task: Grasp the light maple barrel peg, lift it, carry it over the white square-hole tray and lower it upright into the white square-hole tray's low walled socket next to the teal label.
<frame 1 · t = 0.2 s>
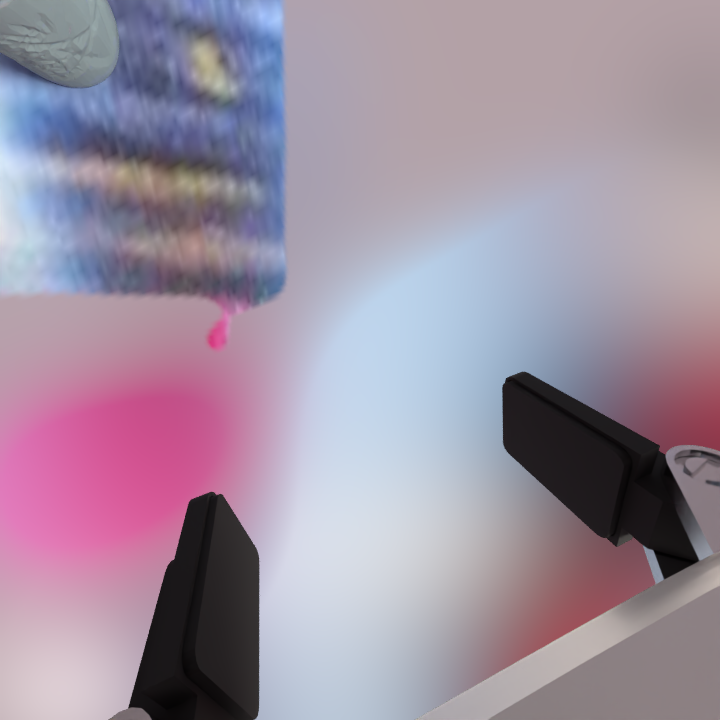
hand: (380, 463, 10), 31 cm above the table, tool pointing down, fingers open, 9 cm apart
grey cylindrical pot: (54, 16, 24), on the table
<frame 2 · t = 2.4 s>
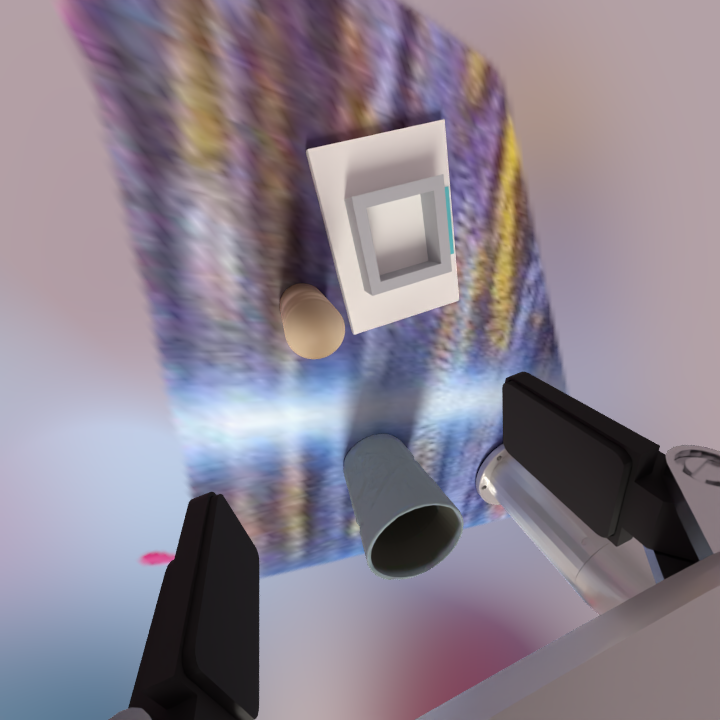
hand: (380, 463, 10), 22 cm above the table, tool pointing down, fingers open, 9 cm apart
grey cylindrical pot: (376, 459, 40), on the table
white square-hole tray: (391, 236, 29), on the table
barrel peg: (303, 306, 30), on the table
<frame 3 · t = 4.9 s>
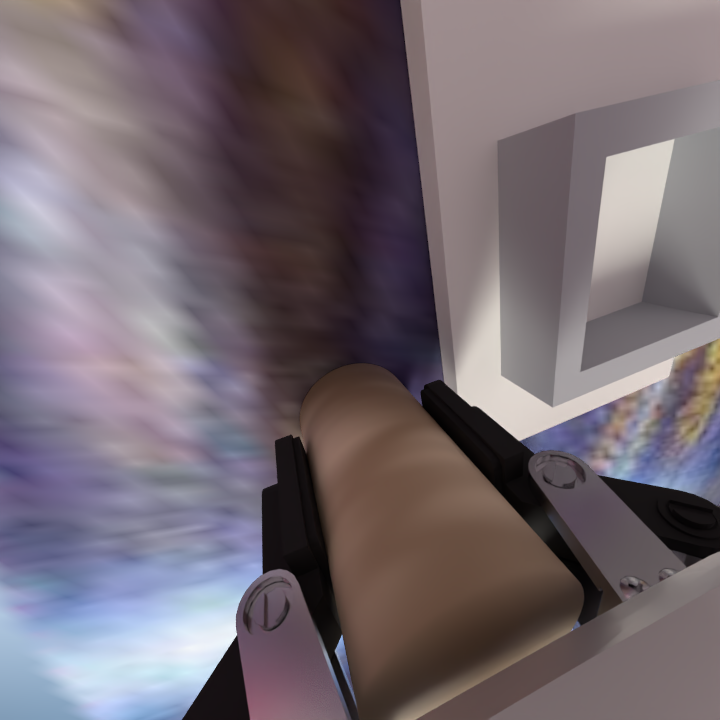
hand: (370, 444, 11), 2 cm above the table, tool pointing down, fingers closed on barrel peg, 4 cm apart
white square-hole tray: (569, 246, 12), on the table
barrel peg: (355, 413, 12), on the table, touching gripper
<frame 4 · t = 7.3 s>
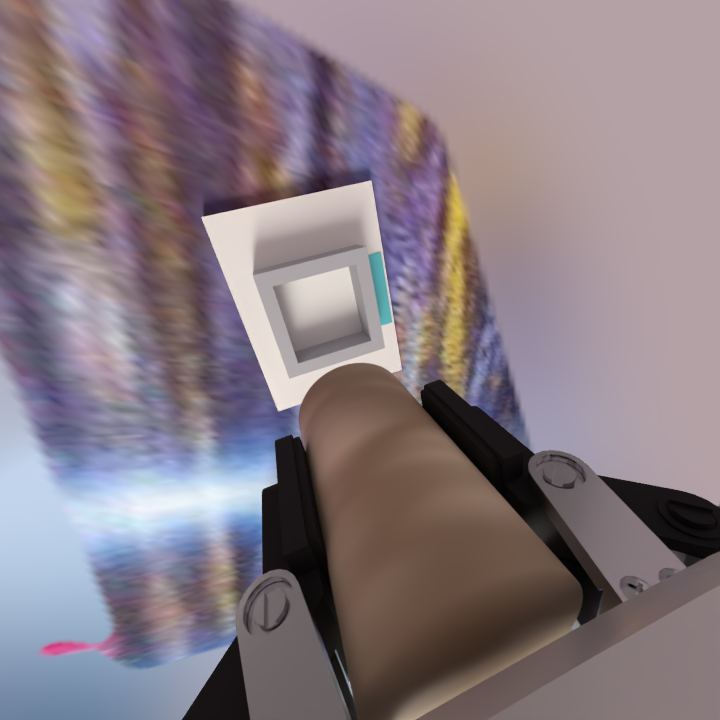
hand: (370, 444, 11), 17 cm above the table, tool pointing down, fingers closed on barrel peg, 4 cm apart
white square-hole tray: (318, 304, 26), on the table
barrel peg: (354, 413, 12), point 15 cm above the table, touching gripper
when the fingers open (4 cm above the table, at t = 9.6 s): barrel peg drops 1 cm, resting on white square-hole tray.
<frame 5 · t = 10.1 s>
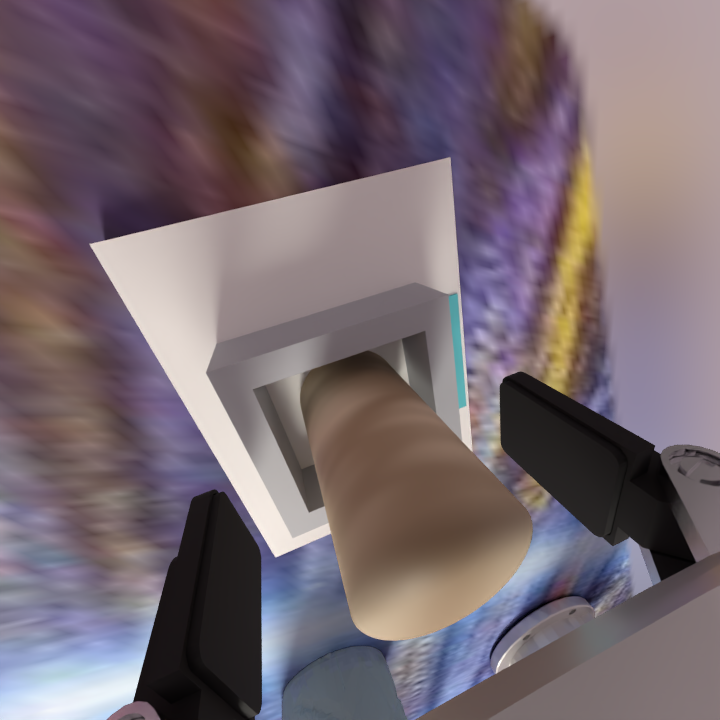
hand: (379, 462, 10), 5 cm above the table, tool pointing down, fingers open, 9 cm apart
grey cylindrical pot: (338, 674, 25), on the table
white square-hole tray: (340, 385, 15), on the table
barrel peg: (350, 394, 14), point 1 cm above the table, touching white square-hole tray
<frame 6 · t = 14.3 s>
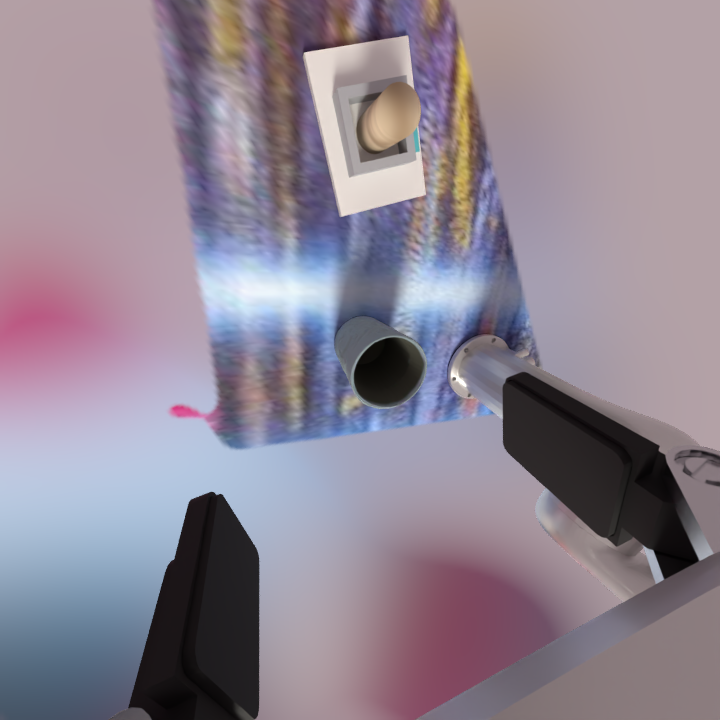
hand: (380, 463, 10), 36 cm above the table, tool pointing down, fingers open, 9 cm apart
grey cylindrical pot: (361, 341, 49), on the table
white square-hole tray: (369, 134, 38), on the table
barrel peg: (373, 132, 37), point 1 cm above the table, touching white square-hole tray
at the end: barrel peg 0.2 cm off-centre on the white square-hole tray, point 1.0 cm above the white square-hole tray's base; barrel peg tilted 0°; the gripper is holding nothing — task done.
